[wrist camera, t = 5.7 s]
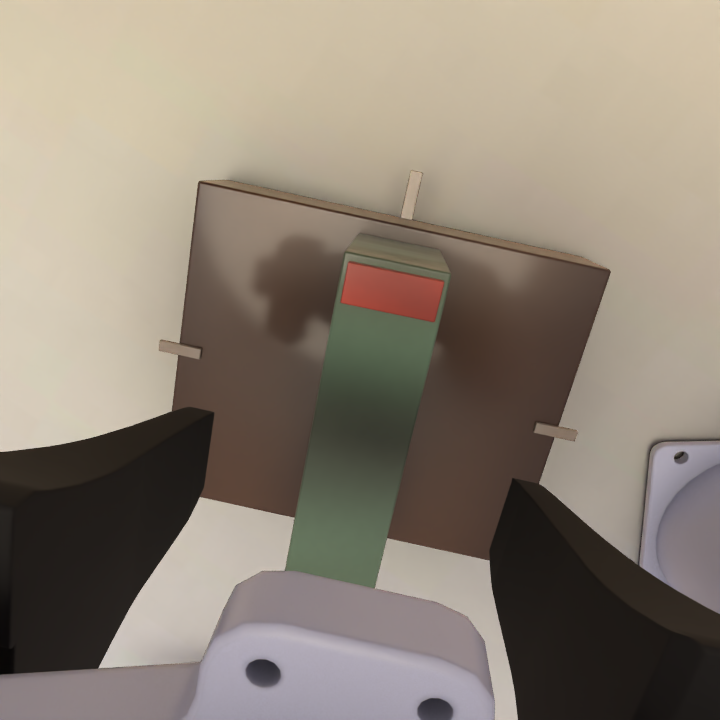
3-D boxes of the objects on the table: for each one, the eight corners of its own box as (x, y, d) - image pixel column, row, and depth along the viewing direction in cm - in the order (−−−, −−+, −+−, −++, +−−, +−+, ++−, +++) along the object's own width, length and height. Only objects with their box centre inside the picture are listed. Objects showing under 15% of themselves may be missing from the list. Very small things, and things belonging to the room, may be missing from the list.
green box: (375, 524, 21) (368, 618, 17) (305, 509, 21) (278, 600, 17) (440, 249, 18) (452, 274, 14) (358, 232, 18) (343, 252, 14)
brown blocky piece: (615, 215, 20) (652, 222, 17) (502, 555, 25) (516, 608, 22) (214, 128, 20) (182, 120, 17) (172, 482, 25) (140, 525, 22)
